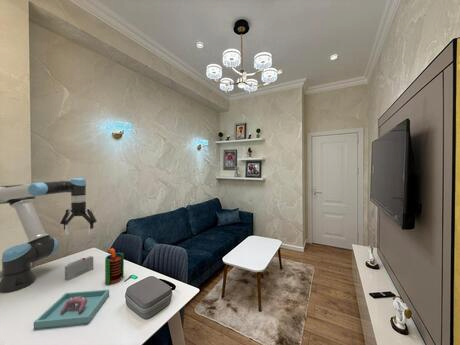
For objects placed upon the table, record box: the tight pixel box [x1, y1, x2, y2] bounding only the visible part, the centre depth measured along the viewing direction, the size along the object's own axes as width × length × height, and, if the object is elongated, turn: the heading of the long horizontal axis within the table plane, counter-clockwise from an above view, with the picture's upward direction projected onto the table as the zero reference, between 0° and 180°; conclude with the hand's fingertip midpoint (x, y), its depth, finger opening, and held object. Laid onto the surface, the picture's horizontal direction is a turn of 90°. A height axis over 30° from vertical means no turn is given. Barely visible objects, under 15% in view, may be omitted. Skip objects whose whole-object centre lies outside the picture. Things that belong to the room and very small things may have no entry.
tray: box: [33, 288, 110, 331], centre depth 95 cm, size 22×20×4 cm
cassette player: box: [64, 255, 94, 282], centre depth 128 cm, size 16×3×10 cm, turn 157°
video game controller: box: [61, 296, 87, 314], centre depth 95 cm, size 10×5×7 cm, turn 93°
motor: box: [104, 248, 125, 286], centre depth 121 cm, size 10×9×20 cm
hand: (78, 234), depth 124 cm, fingers open, 13 cm apart
